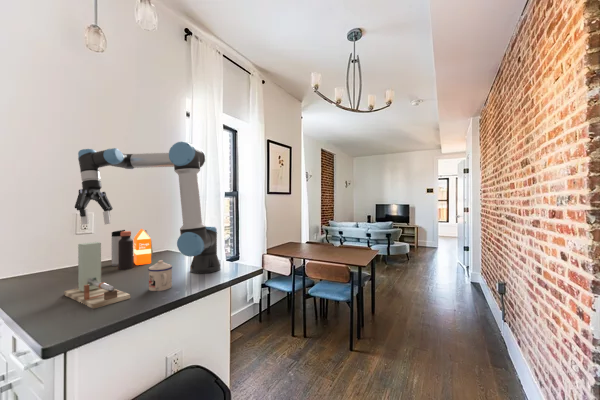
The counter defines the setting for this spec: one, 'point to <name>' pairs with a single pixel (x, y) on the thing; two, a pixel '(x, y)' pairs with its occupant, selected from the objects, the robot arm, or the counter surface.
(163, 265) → the teacup with lid
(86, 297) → the rail base
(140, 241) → the orange juice
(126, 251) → the vinegar
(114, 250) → the travel mug
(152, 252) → the squeeze bottle
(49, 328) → the counter surface
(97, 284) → the steel rod
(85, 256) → the pale green block
